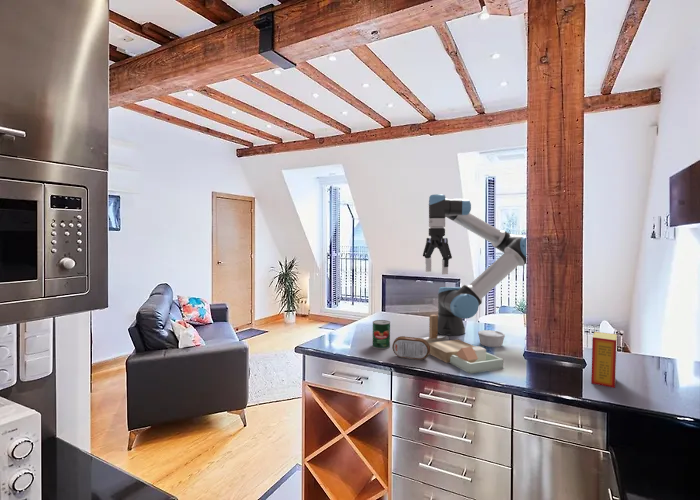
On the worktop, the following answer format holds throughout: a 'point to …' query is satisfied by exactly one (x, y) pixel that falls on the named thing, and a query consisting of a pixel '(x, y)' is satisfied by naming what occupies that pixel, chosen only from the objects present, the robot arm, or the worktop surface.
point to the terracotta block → (467, 354)
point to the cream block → (480, 353)
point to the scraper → (434, 331)
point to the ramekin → (491, 338)
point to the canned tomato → (381, 334)
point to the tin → (411, 347)
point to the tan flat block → (447, 349)
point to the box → (478, 364)
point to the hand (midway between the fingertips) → (436, 272)
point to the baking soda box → (604, 359)
